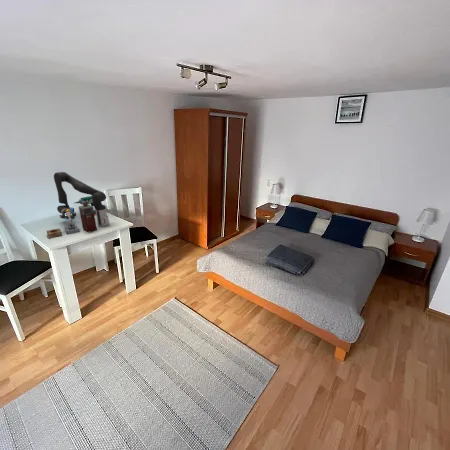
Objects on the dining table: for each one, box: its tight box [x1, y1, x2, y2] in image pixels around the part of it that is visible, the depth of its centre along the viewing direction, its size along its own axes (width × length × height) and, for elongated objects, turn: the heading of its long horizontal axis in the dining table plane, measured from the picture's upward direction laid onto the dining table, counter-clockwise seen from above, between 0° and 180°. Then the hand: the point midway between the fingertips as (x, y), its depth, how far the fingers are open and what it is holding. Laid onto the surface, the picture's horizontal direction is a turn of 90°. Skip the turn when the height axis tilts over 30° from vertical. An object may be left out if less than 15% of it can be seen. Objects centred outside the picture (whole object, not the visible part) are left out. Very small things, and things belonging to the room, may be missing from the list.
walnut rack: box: [46, 227, 63, 239], centre depth 215 cm, size 10×10×4 cm
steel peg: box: [66, 208, 75, 227], centre depth 219 cm, size 3×3×16 cm
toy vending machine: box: [78, 201, 98, 233], centre depth 223 cm, size 9×11×28 cm
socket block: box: [64, 225, 80, 235], centre depth 224 cm, size 10×10×3 cm
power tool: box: [74, 195, 108, 216], centre depth 264 cm, size 32×7×20 cm, turn 143°
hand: (70, 217), depth 217 cm, fingers closed on steel peg, 3 cm apart
